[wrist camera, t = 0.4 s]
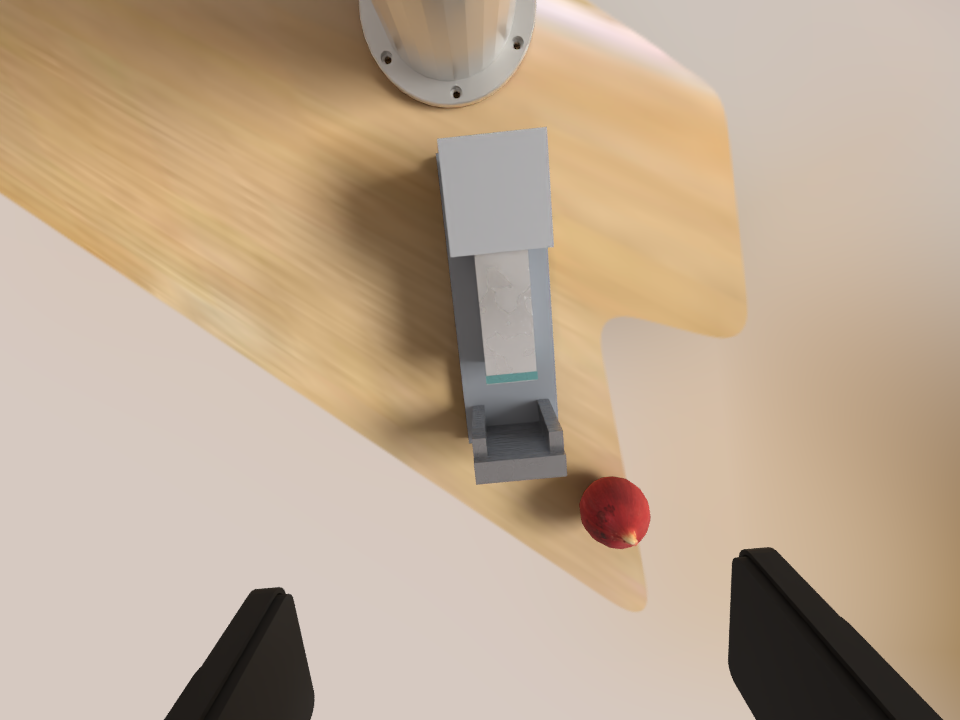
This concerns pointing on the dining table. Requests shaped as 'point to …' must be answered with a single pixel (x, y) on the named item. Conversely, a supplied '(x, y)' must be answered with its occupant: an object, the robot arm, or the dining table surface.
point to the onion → (615, 512)
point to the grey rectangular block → (506, 316)
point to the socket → (518, 447)
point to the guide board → (472, 342)
